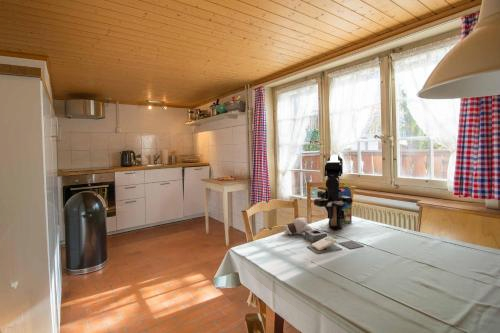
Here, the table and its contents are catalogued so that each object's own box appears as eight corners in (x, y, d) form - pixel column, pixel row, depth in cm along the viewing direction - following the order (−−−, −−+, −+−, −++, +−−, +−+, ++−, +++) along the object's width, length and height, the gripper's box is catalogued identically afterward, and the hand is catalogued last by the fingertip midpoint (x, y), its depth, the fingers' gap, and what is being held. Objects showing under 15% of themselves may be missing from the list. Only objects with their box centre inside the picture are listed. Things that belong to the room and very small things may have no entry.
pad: (351, 241, 128) (351, 240, 128) (364, 246, 121) (364, 245, 121) (338, 243, 126) (338, 242, 126) (350, 249, 118) (350, 248, 118)
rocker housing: (329, 243, 127) (329, 239, 127) (341, 249, 118) (341, 245, 118) (306, 247, 122) (306, 243, 122) (318, 254, 114) (317, 250, 114)
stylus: (334, 224, 128) (334, 206, 128) (337, 225, 125) (337, 207, 125) (329, 224, 127) (329, 206, 127) (332, 226, 125) (332, 207, 124)
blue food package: (328, 222, 161) (328, 183, 160) (345, 220, 165) (345, 181, 163) (334, 225, 155) (334, 184, 154) (351, 223, 159) (351, 183, 157)
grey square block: (317, 236, 137) (317, 229, 136) (327, 241, 129) (327, 233, 129) (304, 238, 134) (304, 231, 134) (313, 243, 126) (313, 235, 126)
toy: (288, 245, 136) (315, 238, 137) (286, 233, 132) (313, 225, 133) (281, 230, 148) (306, 223, 149) (279, 218, 144) (304, 210, 145)
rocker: (328, 237, 125) (328, 235, 124) (336, 241, 119) (336, 239, 119) (311, 246, 121) (311, 243, 121) (319, 250, 116) (318, 248, 116)
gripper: (338, 183, 136) (338, 213, 137) (307, 186, 130) (308, 216, 131) (353, 186, 125) (353, 218, 126) (320, 189, 119) (320, 222, 120)
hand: (333, 218), depth 126 cm, fingers closed on stylus, 3 cm apart
